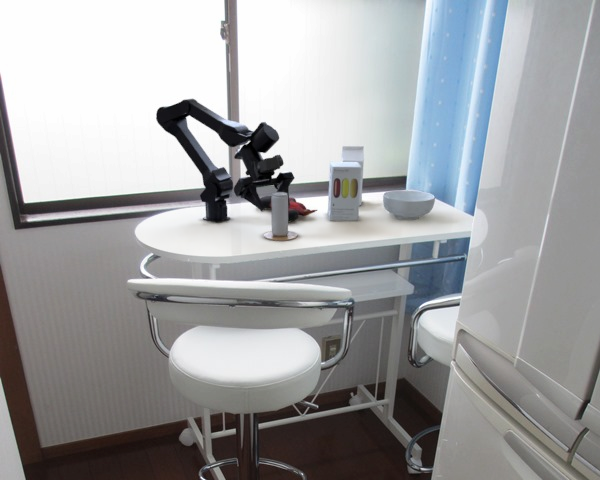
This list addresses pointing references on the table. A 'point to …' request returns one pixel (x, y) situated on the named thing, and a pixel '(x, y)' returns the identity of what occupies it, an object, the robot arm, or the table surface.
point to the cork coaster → (284, 238)
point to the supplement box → (344, 191)
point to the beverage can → (279, 214)
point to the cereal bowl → (408, 203)
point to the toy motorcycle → (289, 208)
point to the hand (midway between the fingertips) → (276, 208)
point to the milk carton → (354, 160)
